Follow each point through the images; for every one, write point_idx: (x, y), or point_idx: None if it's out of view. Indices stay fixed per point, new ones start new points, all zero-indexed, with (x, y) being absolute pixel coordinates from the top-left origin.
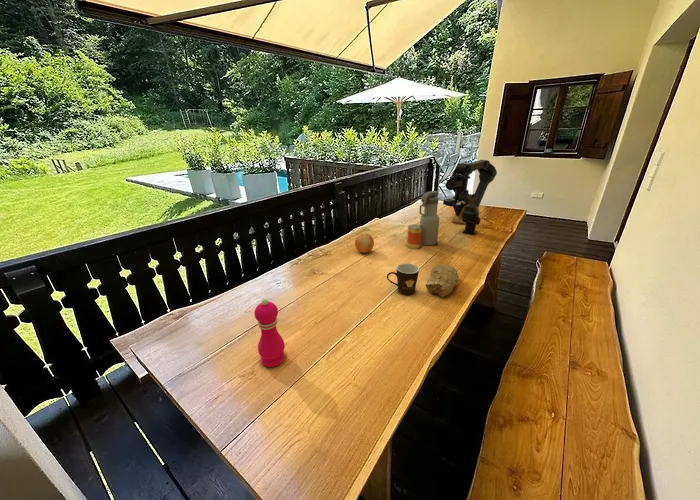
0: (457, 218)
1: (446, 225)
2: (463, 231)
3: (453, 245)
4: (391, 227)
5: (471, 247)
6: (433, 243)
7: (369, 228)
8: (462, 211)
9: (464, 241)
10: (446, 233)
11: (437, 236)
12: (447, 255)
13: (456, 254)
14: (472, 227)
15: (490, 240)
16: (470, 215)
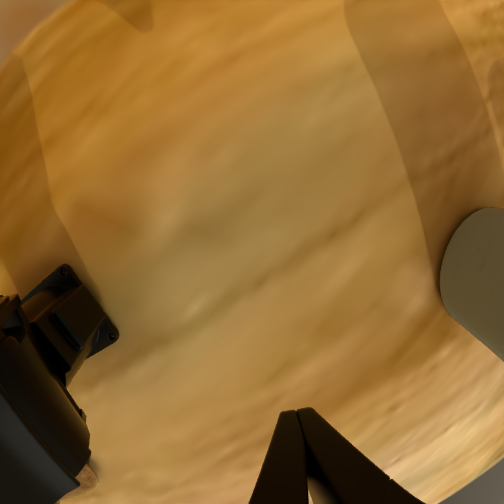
0: None
1: (150, 463)
2: (105, 343)
3: (383, 134)
4: (427, 478)
5: (280, 35)
6: (495, 208)
7: (483, 465)
8: None
9: (236, 163)
10: (248, 372)
11: (491, 235)
12: (491, 49)
13: (447, 23)
14: (41, 309)
15: (32, 113)
16: (12, 391)
